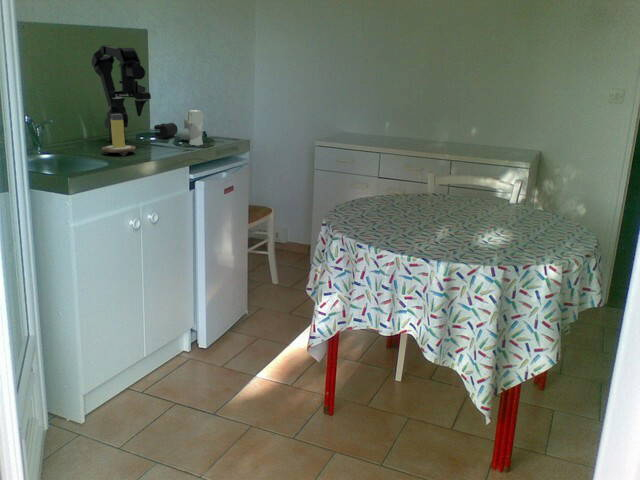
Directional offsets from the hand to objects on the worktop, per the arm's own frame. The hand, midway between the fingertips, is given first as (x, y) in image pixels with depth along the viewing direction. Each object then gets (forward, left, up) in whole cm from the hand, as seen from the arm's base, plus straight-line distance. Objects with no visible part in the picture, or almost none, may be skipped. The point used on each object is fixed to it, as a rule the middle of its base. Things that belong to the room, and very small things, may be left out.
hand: (130, 115), depth 276 cm
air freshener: (+13, +25, -13) cm, 31 cm away
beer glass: (+22, +16, -13) cm, 30 cm away
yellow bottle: (+9, -19, -10) cm, 23 cm away
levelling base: (+9, -19, -13) cm, 25 cm away
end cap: (-2, +26, -13) cm, 29 cm away
